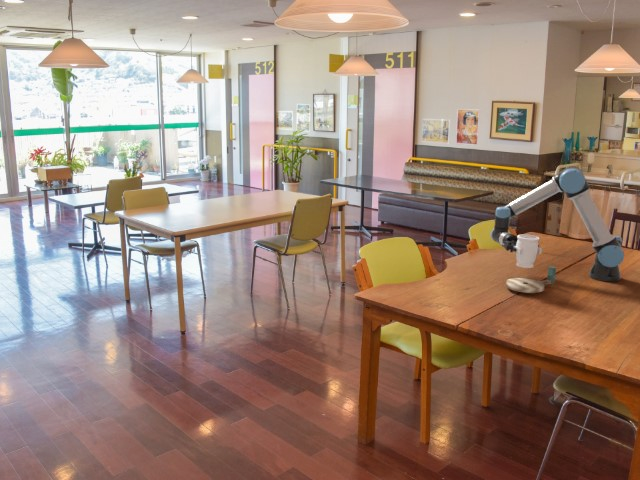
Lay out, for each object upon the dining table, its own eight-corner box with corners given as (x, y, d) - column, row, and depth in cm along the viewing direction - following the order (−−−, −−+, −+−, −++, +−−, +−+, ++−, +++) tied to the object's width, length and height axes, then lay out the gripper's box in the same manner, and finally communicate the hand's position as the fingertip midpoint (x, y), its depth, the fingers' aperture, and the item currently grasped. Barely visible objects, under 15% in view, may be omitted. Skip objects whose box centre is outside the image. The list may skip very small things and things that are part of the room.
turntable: (524, 294, 289) (525, 277, 287) (498, 284, 305) (499, 267, 303) (566, 288, 300) (568, 271, 298) (539, 277, 316) (541, 262, 314)
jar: (536, 269, 295) (540, 239, 292) (514, 267, 297) (518, 238, 294) (534, 263, 305) (537, 235, 302) (512, 262, 308) (516, 233, 304)
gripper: (528, 247, 319) (551, 258, 298) (488, 248, 316) (508, 259, 294) (530, 233, 318) (552, 243, 296) (489, 234, 314) (509, 244, 292)
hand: (530, 251), depth 295 cm, fingers closed on jar, 10 cm apart
